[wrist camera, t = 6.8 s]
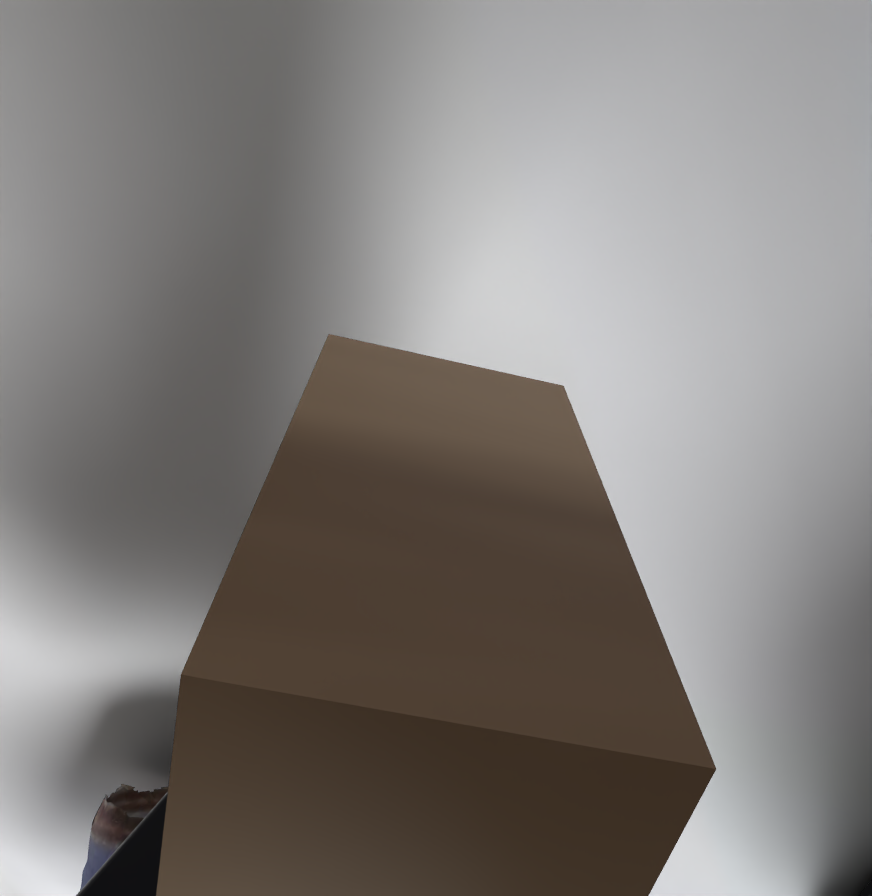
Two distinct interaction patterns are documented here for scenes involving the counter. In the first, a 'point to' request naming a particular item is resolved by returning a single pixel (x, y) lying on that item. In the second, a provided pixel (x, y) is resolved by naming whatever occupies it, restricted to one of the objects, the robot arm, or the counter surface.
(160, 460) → the counter surface
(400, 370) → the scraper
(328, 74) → the counter surface
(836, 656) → the counter surface
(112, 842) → the blue painted container
